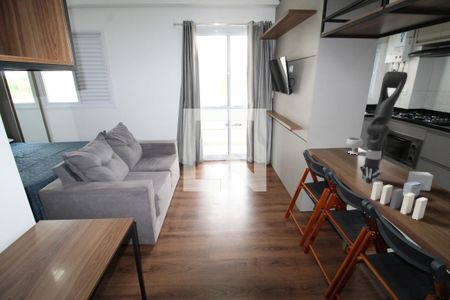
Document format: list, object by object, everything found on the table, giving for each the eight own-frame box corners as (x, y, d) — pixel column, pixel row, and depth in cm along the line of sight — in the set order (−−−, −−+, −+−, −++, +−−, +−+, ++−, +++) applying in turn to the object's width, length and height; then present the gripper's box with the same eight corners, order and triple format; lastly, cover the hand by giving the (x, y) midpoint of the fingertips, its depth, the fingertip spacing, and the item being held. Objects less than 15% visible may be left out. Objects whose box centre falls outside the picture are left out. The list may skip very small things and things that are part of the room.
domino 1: (370, 198, 133) (373, 182, 130) (376, 196, 135) (379, 180, 131) (374, 200, 131) (377, 183, 128) (379, 198, 133) (383, 182, 129)
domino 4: (400, 212, 118) (404, 194, 115) (406, 210, 120) (410, 192, 117) (404, 214, 116) (409, 196, 113) (410, 212, 118) (415, 194, 115)
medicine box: (409, 198, 132) (412, 185, 129) (401, 195, 136) (404, 182, 133) (418, 196, 134) (421, 183, 131) (410, 193, 138) (413, 180, 135)
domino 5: (411, 217, 113) (416, 199, 110) (417, 215, 115) (422, 197, 112) (416, 220, 111) (421, 201, 108) (422, 217, 113) (427, 199, 110)
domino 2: (379, 202, 128) (383, 186, 125) (385, 200, 130) (388, 184, 127) (383, 204, 126) (387, 187, 123) (389, 202, 128) (392, 185, 125)
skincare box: (424, 186, 145) (428, 172, 142) (430, 190, 140) (434, 176, 136) (406, 185, 148) (409, 170, 145) (410, 189, 142) (414, 174, 139)
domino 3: (389, 207, 123) (393, 190, 120) (395, 205, 125) (399, 188, 122) (393, 209, 121) (397, 191, 118) (399, 207, 123) (403, 189, 120)
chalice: (364, 154, 210) (367, 139, 206) (352, 156, 207) (355, 141, 203) (352, 150, 223) (355, 136, 219) (341, 152, 220) (343, 137, 215)
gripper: (388, 159, 126) (383, 186, 131) (366, 153, 138) (362, 178, 143) (380, 161, 123) (375, 188, 128) (358, 154, 135) (354, 180, 140)
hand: (368, 183), depth 135 cm, fingers closed
